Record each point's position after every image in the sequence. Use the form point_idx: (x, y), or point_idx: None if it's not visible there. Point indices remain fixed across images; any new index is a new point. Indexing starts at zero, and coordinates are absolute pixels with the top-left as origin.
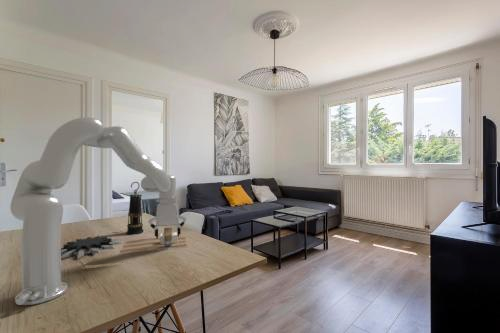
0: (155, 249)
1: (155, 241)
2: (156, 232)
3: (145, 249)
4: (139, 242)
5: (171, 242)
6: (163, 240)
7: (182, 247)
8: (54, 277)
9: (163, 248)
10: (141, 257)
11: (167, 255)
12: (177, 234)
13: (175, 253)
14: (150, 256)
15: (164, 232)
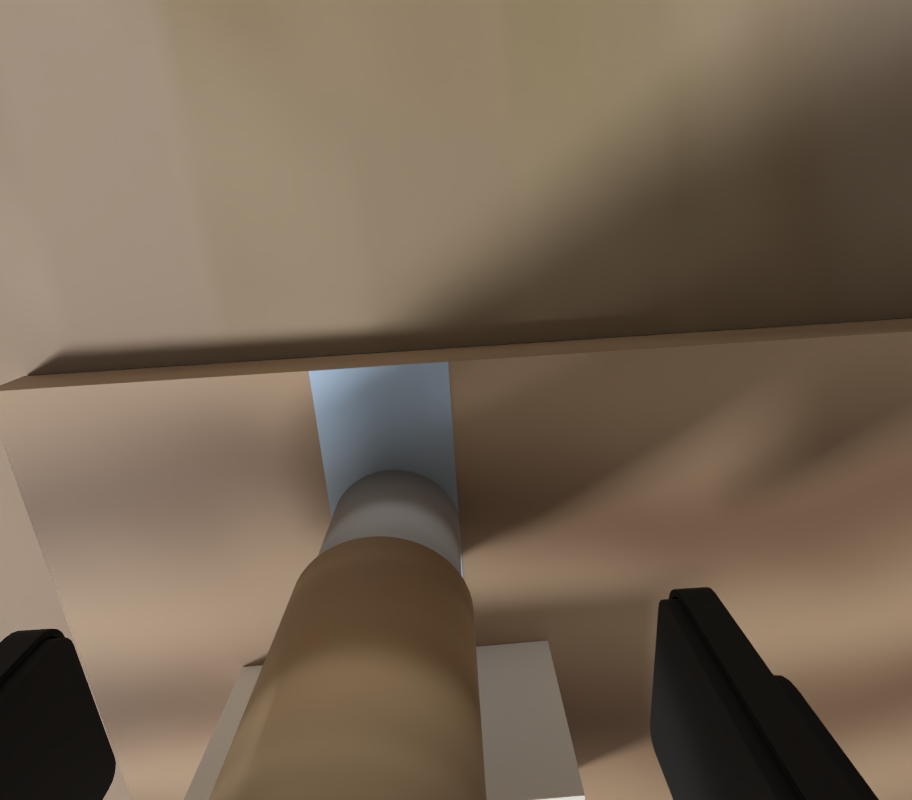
0: (628, 386)
1: (639, 796)
2: (816, 757)
3: (819, 433)
4: (891, 796)
5: None
6: (500, 706)
7: (73, 387)
8: None
9: (471, 410)
10: (875, 118)
11: (358, 105)
12: (100, 772)
13: (208, 195)
14: (701, 134)
15: (472, 792)
